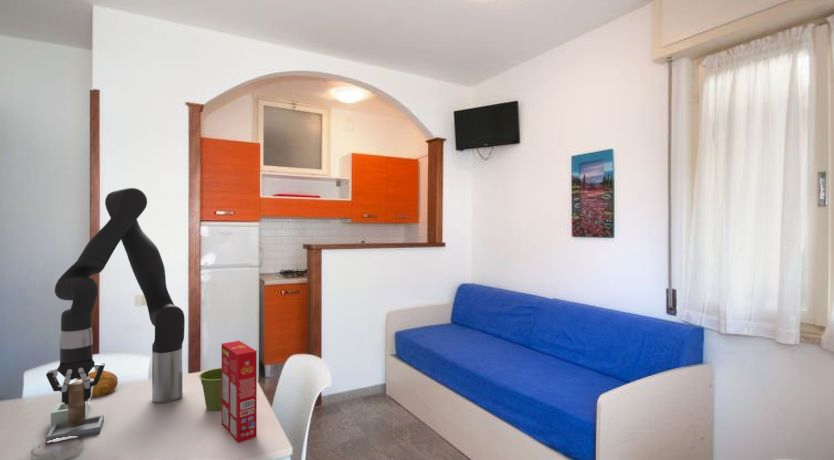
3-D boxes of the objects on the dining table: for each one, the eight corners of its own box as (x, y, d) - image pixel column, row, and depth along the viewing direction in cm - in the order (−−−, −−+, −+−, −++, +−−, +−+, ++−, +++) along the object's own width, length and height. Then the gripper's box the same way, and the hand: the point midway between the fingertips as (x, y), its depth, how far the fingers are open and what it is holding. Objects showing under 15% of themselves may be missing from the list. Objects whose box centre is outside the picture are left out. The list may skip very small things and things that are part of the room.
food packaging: (256, 436, 121) (256, 351, 121) (237, 443, 118) (237, 354, 118) (239, 419, 132) (239, 340, 132) (221, 424, 129) (221, 343, 129)
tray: (103, 421, 131) (103, 414, 131) (99, 433, 123) (99, 426, 123) (54, 430, 125) (53, 423, 125) (46, 444, 117) (46, 436, 117)
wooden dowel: (86, 420, 126) (86, 380, 126) (84, 425, 123) (84, 384, 123) (69, 423, 124) (69, 383, 124) (66, 428, 121) (66, 387, 121)
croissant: (115, 387, 165) (115, 366, 165) (120, 393, 153) (120, 370, 154) (67, 395, 155) (67, 373, 156) (68, 402, 143) (69, 378, 144)
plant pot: (204, 417, 133) (204, 382, 133) (194, 405, 142) (194, 372, 142) (242, 407, 141) (242, 374, 141) (231, 396, 150) (231, 365, 150)
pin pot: (88, 413, 136) (88, 398, 136) (83, 423, 129) (83, 407, 129) (57, 419, 132) (57, 403, 132) (50, 429, 125) (50, 413, 125)
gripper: (107, 338, 130) (108, 392, 130) (48, 344, 123) (48, 402, 123) (104, 343, 124) (104, 401, 124) (41, 350, 117) (41, 412, 117)
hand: (76, 401), depth 124 cm, fingers closed on wooden dowel, 4 cm apart
